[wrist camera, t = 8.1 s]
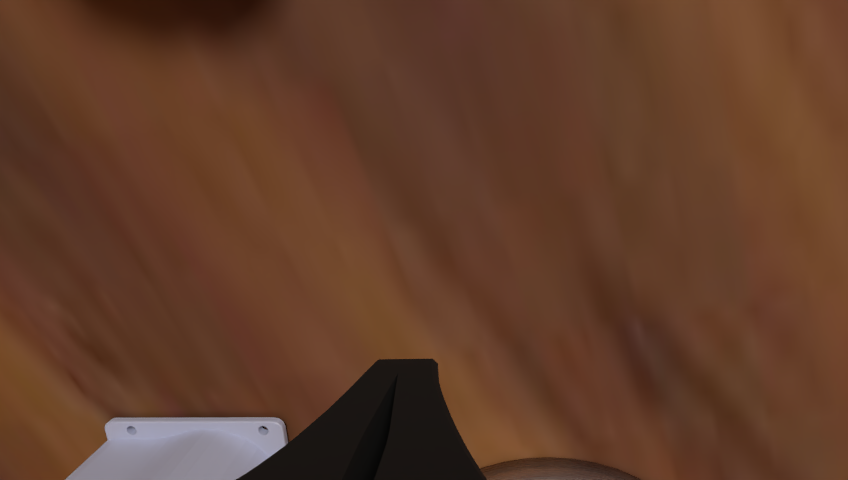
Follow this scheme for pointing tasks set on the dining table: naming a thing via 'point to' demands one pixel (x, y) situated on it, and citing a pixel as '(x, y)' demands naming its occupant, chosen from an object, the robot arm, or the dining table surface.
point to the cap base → (553, 470)
